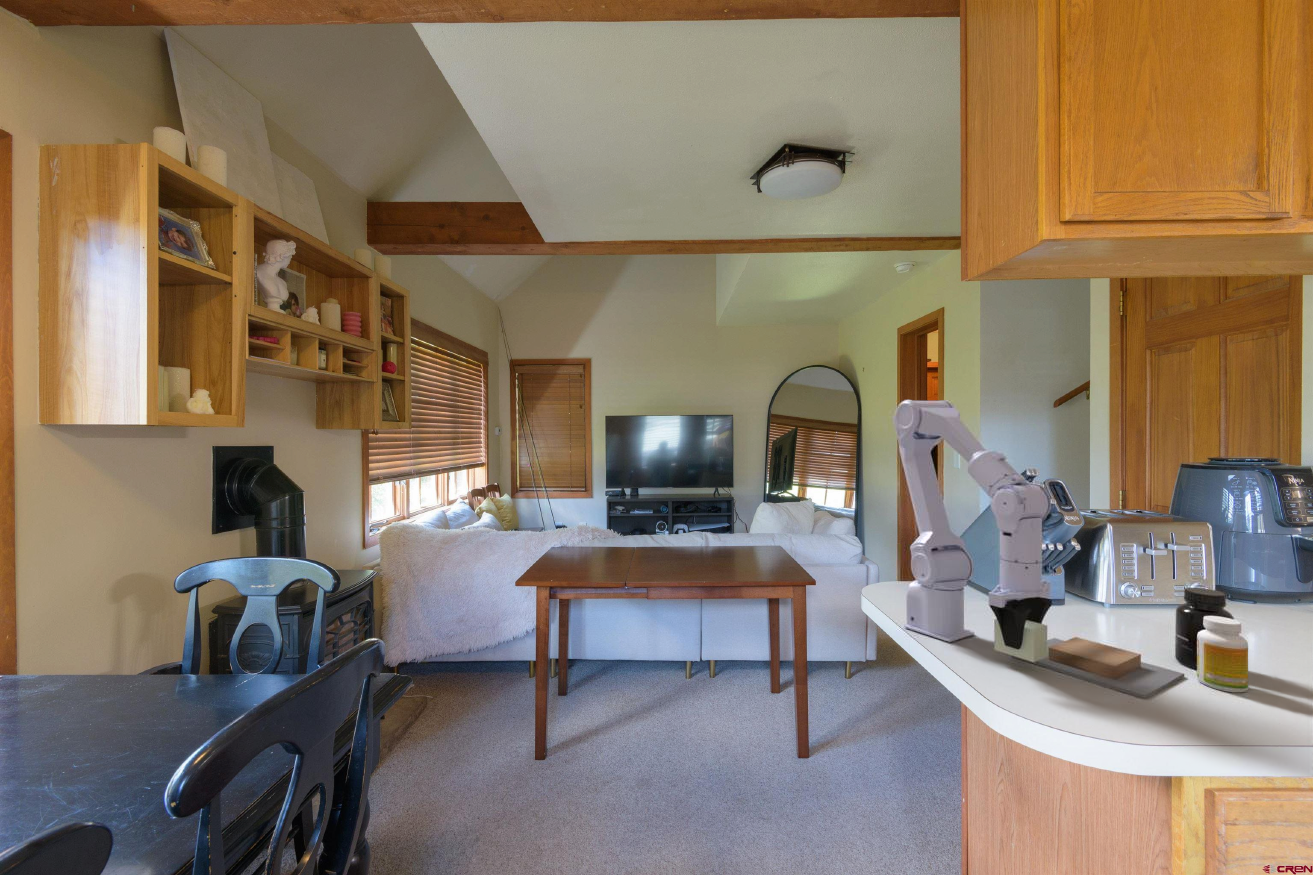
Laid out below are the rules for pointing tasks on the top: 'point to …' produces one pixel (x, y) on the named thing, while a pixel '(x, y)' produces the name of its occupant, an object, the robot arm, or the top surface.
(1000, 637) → the sage brick
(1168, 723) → the top surface
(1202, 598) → the supplement bottle
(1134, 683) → the grey mat
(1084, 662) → the walnut base brick
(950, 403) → the robot arm
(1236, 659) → the supplement bottle
